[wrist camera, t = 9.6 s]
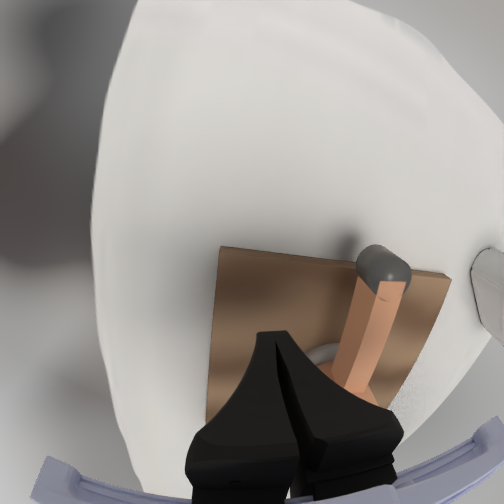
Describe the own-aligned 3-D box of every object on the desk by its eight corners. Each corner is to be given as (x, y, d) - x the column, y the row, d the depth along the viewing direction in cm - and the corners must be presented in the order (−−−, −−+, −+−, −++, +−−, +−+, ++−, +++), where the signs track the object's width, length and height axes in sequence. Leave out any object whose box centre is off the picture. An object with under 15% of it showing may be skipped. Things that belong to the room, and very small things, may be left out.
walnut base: (371, 419, 24) (377, 432, 22) (206, 421, 23) (204, 438, 20) (445, 269, 18) (460, 280, 16) (221, 240, 17) (218, 251, 15)
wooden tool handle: (350, 403, 19) (364, 438, 15) (290, 408, 19) (297, 448, 15) (405, 243, 15) (444, 267, 11) (328, 235, 14) (357, 262, 11)
